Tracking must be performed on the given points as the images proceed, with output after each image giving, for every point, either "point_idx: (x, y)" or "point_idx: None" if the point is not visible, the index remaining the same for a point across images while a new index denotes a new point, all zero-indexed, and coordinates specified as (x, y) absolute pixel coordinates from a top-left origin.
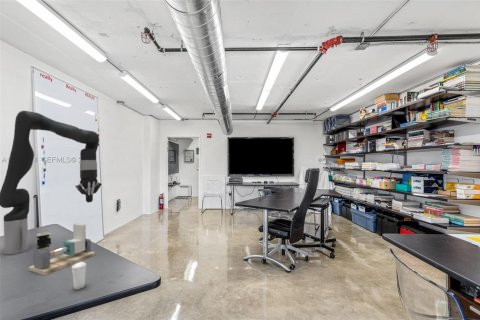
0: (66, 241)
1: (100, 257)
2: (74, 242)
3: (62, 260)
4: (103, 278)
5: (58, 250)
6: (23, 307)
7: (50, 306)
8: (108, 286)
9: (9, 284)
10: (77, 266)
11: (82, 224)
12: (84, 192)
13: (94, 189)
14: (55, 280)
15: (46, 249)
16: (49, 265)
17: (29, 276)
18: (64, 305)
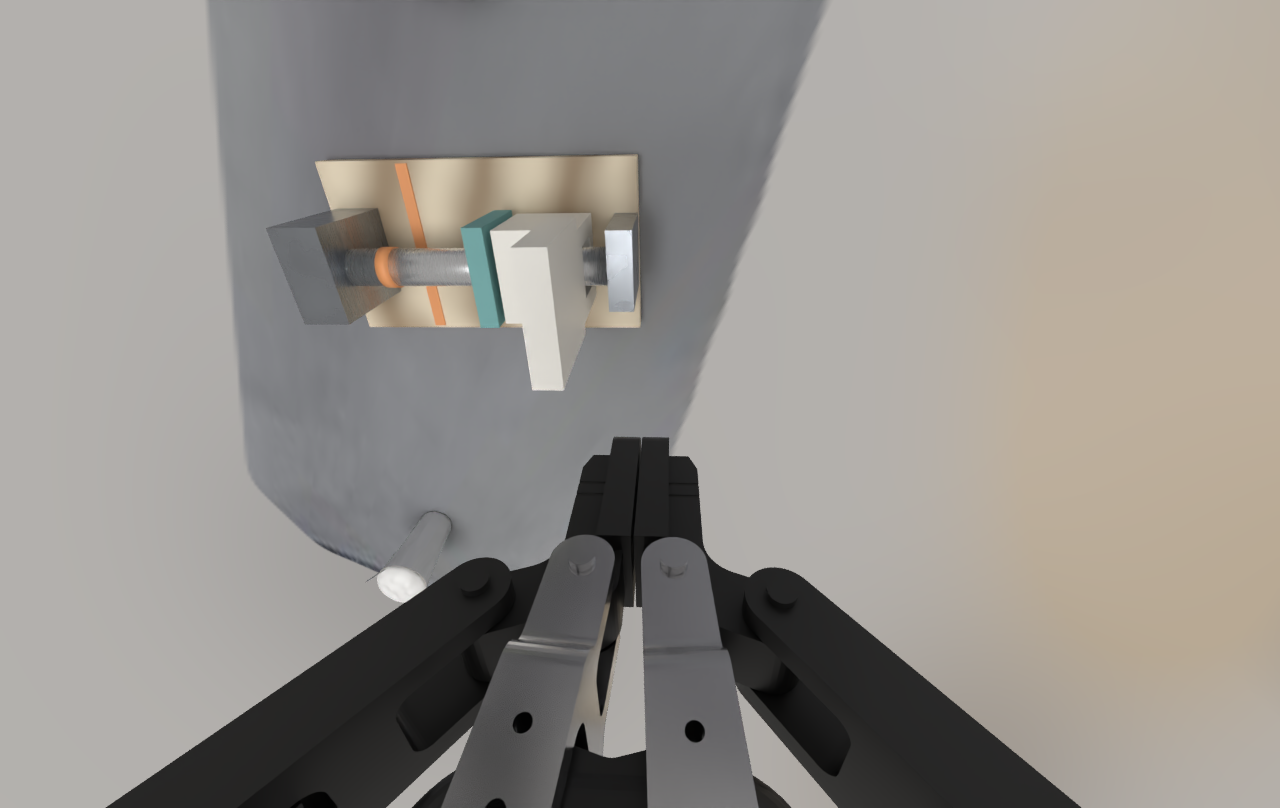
0: (474, 256)
1: (631, 374)
2: (506, 323)
3: None
4: (512, 538)
5: (421, 285)
6: (290, 484)
7: (348, 537)
8: None
9: (246, 263)
10: (388, 596)
11: (552, 358)
12: (460, 689)
13: (847, 680)
14: (398, 409)
15: None
16: (393, 293)
17: None
18: (375, 560)
